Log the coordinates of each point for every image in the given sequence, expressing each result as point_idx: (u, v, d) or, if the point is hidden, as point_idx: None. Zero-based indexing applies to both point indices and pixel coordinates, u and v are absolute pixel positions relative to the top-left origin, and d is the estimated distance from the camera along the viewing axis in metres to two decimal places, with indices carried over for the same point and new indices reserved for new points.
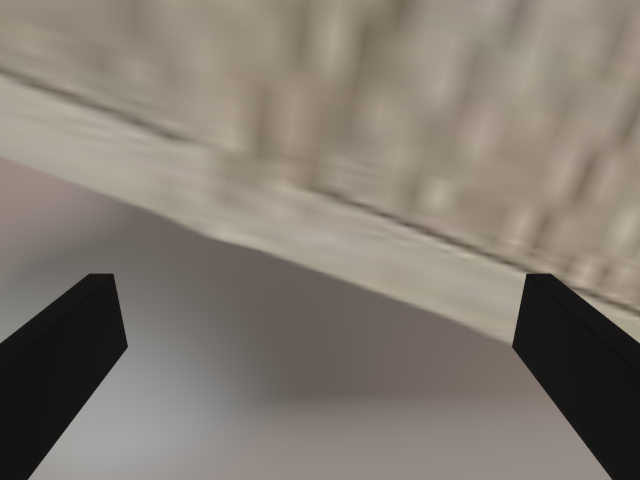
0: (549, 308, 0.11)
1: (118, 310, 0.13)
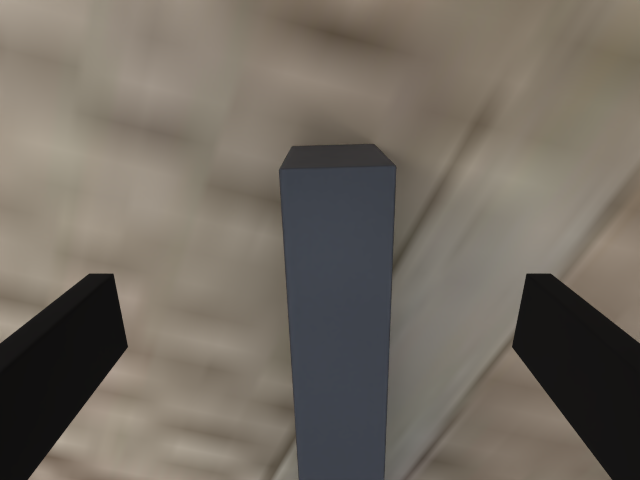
0: (550, 308, 0.11)
1: (118, 310, 0.13)
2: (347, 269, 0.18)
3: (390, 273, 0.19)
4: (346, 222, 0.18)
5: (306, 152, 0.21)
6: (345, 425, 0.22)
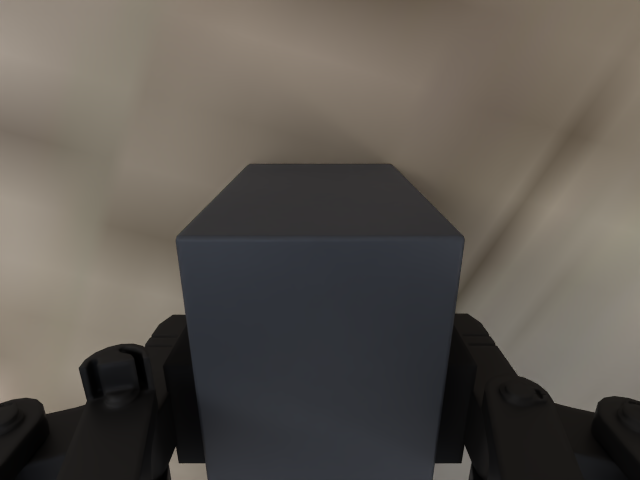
0: None
1: None
2: (339, 448, 0.08)
3: (432, 457, 0.09)
4: (339, 359, 0.08)
5: (266, 180, 0.11)
6: None
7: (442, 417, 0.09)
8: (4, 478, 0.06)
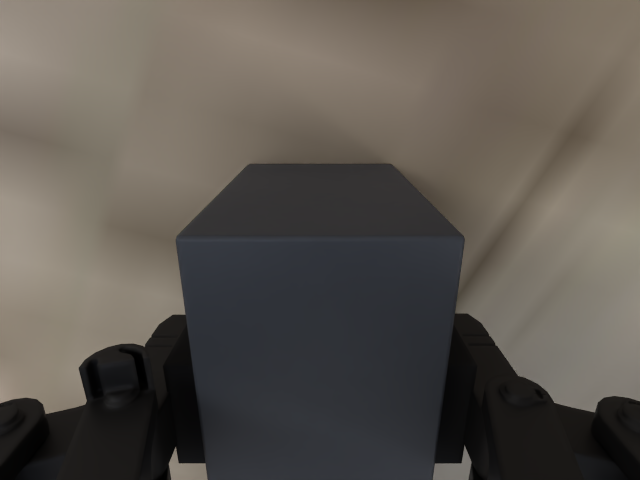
0: None
1: None
2: (339, 448, 0.08)
3: (432, 457, 0.09)
4: (339, 359, 0.08)
5: (266, 180, 0.11)
6: None
7: (442, 417, 0.09)
8: (4, 478, 0.06)
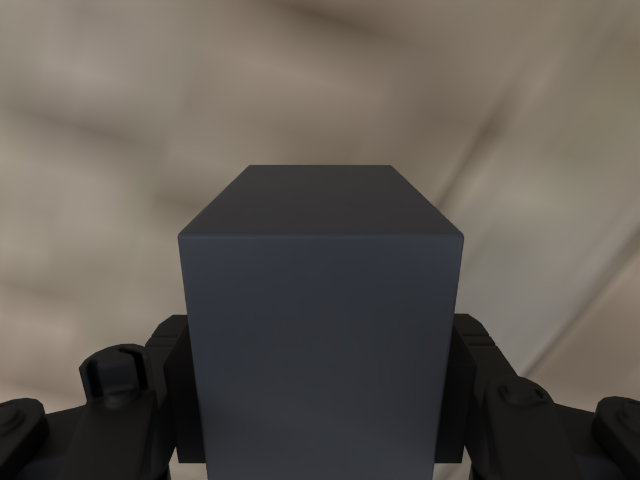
0: None
1: None
2: (338, 446, 0.08)
3: (432, 456, 0.09)
4: (340, 356, 0.08)
5: (267, 181, 0.11)
6: None
7: (442, 417, 0.09)
8: (4, 478, 0.06)
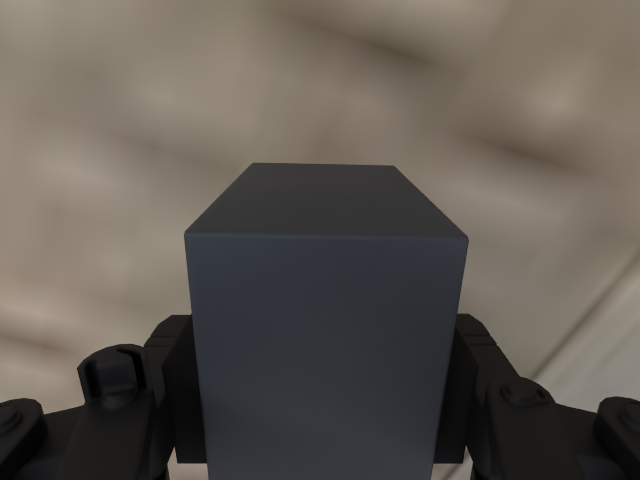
0: None
1: None
2: (339, 444, 0.08)
3: (431, 455, 0.09)
4: (342, 356, 0.08)
5: (271, 179, 0.11)
6: None
7: (443, 417, 0.09)
8: (2, 478, 0.06)
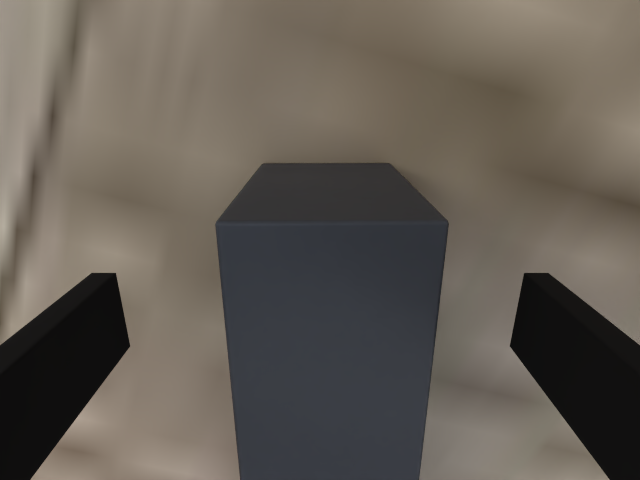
0: (547, 307, 0.11)
1: (120, 309, 0.13)
2: (346, 400, 0.10)
3: (424, 408, 0.10)
4: (347, 323, 0.09)
5: (281, 178, 0.13)
6: None
7: None
8: None
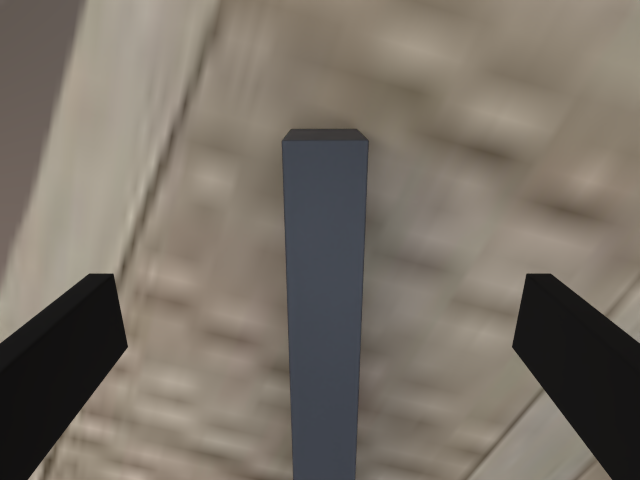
0: (550, 308, 0.11)
1: (118, 310, 0.13)
2: (331, 219, 0.24)
3: (364, 223, 0.25)
4: (331, 182, 0.24)
5: (302, 132, 0.27)
6: (328, 348, 0.28)
7: None
8: None
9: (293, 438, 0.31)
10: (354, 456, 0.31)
